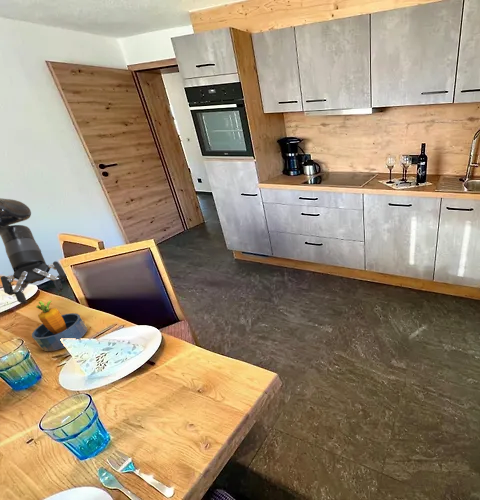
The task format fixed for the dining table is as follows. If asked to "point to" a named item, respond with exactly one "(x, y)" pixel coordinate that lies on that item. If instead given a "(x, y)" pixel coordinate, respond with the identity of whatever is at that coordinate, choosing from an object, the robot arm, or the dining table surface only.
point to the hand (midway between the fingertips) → (42, 297)
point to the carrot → (51, 318)
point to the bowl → (52, 341)
